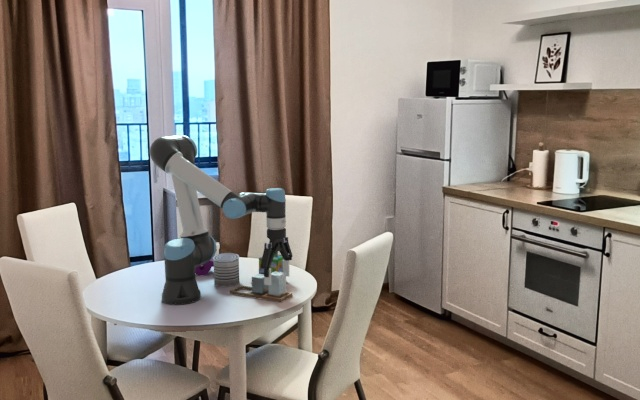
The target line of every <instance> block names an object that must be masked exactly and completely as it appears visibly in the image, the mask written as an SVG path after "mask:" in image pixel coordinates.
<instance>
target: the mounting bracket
mask: <svg viewBox="0 0 640 400" xmlns="http://www.w3.org/2000/svg"><path fill="white" fill-rule="evenodd" d="M212 268H214V261H213V258H212V259H211V260H209V261H208V262H207V263H205V264H202V265H200V266H198V267H196V268H195V276H198V277H199V276H200V277H203V276H207V275H208V274H209V273H210V272H211V270H212Z"/></svg>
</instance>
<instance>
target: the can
mask: <svg viewBox="0 0 640 400" xmlns="http://www.w3.org/2000/svg"><path fill="white" fill-rule="evenodd" d="M239 258H240V255H239V254H237V253H233V252H224V253H219V254H215V255H214V257H213V261H214V267H213V283H214V286H217V287H223V288H225V287H226V288H229V287H235V286H237V285H240V261H239Z"/></svg>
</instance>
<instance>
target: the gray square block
mask: <svg viewBox="0 0 640 400" xmlns="http://www.w3.org/2000/svg"><path fill="white" fill-rule="evenodd" d="M251 287H252V290H251V291H252V294H256V295H262V296H263V295H265V294H267V293H269V285H265V284H264V274H259V273H257V274H255V275H253V276H251Z"/></svg>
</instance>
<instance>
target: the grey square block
mask: <svg viewBox="0 0 640 400" xmlns="http://www.w3.org/2000/svg"><path fill="white" fill-rule="evenodd" d="M286 292H287V276H286V273H283V272H276V271H275V272H273V273H271V285H269V296H271V297H277V298H282V297H283V296H285V295H286Z"/></svg>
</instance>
